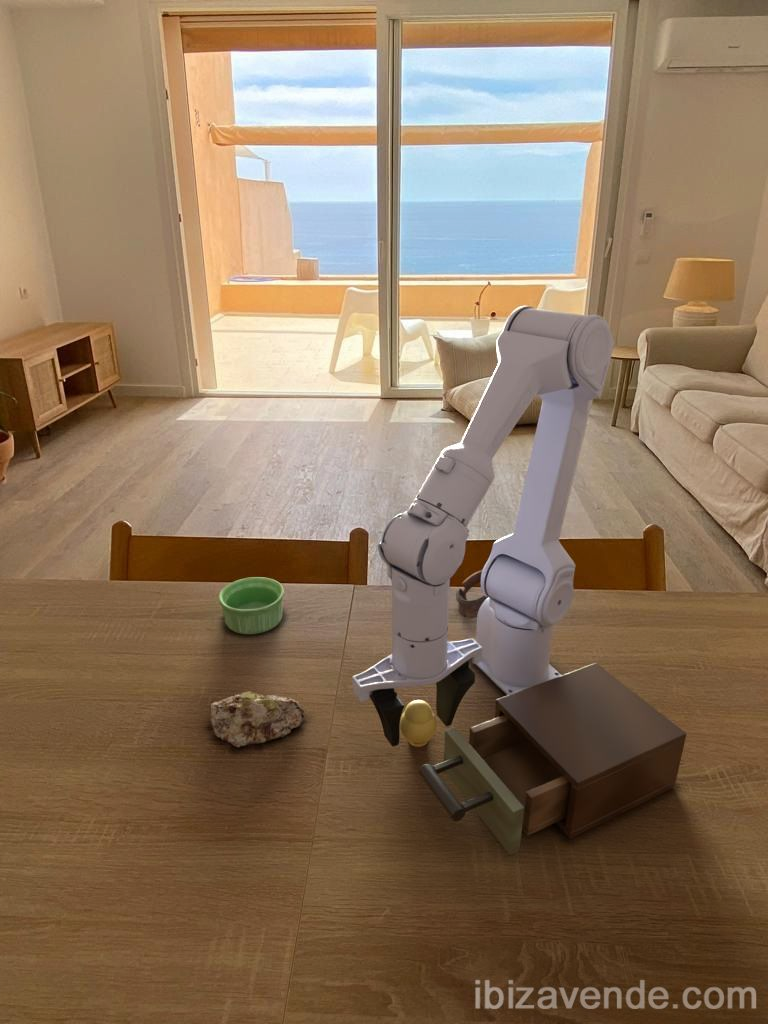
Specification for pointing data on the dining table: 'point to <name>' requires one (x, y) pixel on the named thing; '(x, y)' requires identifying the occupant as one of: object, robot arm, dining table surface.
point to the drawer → (500, 781)
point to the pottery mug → (473, 606)
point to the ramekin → (252, 604)
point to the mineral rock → (254, 718)
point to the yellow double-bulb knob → (418, 723)
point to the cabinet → (598, 742)
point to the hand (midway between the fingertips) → (418, 729)
